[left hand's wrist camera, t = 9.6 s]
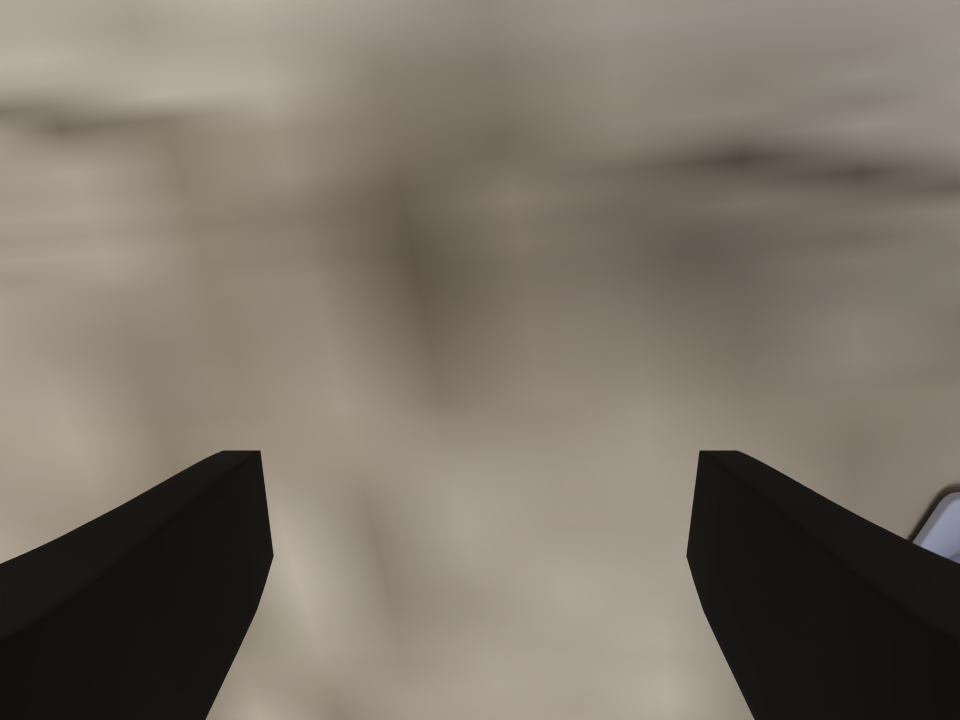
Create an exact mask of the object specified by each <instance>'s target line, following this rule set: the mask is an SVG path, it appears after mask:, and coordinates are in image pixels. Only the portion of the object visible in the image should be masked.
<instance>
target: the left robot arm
mask: <svg viewBox="0 0 960 720" xmlns="http://www.w3.org/2000/svg"><path fill="white" fill-rule="evenodd" d="M272 560H273V548H272V540H271V532H270V524H269V516H268V508H267V500H266V492H265V484H264V476H263V468H262V460H261V452H260V451H221V452H219V453H216V454H214V455H212V456H210V457H207V458H206V459H204V460H202V461H200V462H198V463H196V464H194V465H192V466H190V467H189V468H187V469H185V470H183V471H181V472H180V473H178V474H176V475H174V476H173V477H171V478H169V479H167V480H166V481H164V482H162V483H160V484H158V485H157V486H155V487H153V488H151V489H150V490H148V491H146V492H144V493H142V494H141V495H139V496H137V497H135V498H134V499H132V500H130V501H128V502H126V503H125V504H123V505H121V506H119V507H117V508H115V509H113V510H111V511H109V512H107V513H106V514H104V515H102V516H100V517H98V518H96V519H94V520H92V521H90V522H88V523H86V524H84V525H82V526H80V527H78V528H77V529H75V530H73V531H71V532H69V533H67V534H65V535H63V536H61V537H59V538H57V539H55V540H53V541H51V542H49V543H46V544H44V545H42V546H40V547H38V548H36V549H33V550H31V551H29V552H27V553H25V554H22V555H20V556H18V557H15V558H13V559H11V560H8V561H6V562H4V563H1V564H0V720H205V719H206V717H207V715H208V713H209V711H210V709H211V707H212V705H213V703H214V700H215V698H216V696H217V694H218V692H219V690H220V688H221V686H222V684H223V682H224V679H225V677H226V675H227V673H228V671H229V669H230V667H231V665H232V663H233V661H234V658H235V656H236V654H237V652H238V650H239V648H240V646H241V643H242V641H243V639H244V637H245V635H246V633H247V631H248V628H249V626H250V624H251V622H252V620H253V617H254V615H255V613H256V611H257V608H258V605H259V602H260V599H261V596H262V593H263V590H264V587H265V583H266V580H267V577H268V573H269V570H270V566H271V563H272ZM687 560H688V563H689V566H690V570H691V573H692V577H693V580H694V583H695V587H696V590H697V593H698V596H699V599H700V602H701V605H702V608H703V611H704V613H705V615H706V617H707V620H708V622H709V624H710V626H711V628H712V631H713V633H714V635H715V637H716V639H717V641H718V643H719V646H720V648H721V650H722V652H723V654H724V656H725V658H726V661H727V663H728V665H729V667H730V669H731V671H732V673H733V675H734V677H735V679H736V682H737V684H738V686H739V688H740V690H741V692H742V694H743V696H744V698H745V700H746V703H747V705H748V707H749V709H750V711H751V713H752V715H753V717H754V719H755V720H960V492H955V493H951V494H949V495H947V496H945V497H944V498H943V499H942V500H941V501H940V503H939V504H938V506H937V507H936V509H935V510H934V511H933V513H932V514H931V516H930V517H929V519H928V520H927V522H926V523H925V525H924V526H923V528H922V529H921V531H920V532H919V534H918V535H917V537H916V538H915V540H914V541H913V543H912V542H910V541H908V540H906V539H904V538H902V537H900V536H898V535H896V534H894V533H892V532H890V531H888V530H886V529H884V528H882V527H880V526H878V525H876V524H874V523H872V522H870V521H868V520H866V519H864V518H862V517H860V516H858V515H856V514H854V513H853V512H851V511H849V510H847V509H845V508H843V507H841V506H840V505H838V504H836V503H834V502H832V501H830V500H829V499H827V498H825V497H823V496H822V495H820V494H818V493H816V492H814V491H813V490H811V489H809V488H807V487H806V486H804V485H802V484H800V483H798V482H797V481H795V480H793V479H791V478H790V477H788V476H786V475H784V474H783V473H781V472H779V471H777V470H775V469H774V468H772V467H770V466H768V465H766V464H764V463H763V462H761V461H759V460H757V459H755V458H753V457H751V456H749V455H747V454H744V453H742V452H739V451H700V452H699V460H698V468H697V476H696V484H695V492H694V500H693V508H692V516H691V524H690V532H689V540H688V548H687Z"/></svg>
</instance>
